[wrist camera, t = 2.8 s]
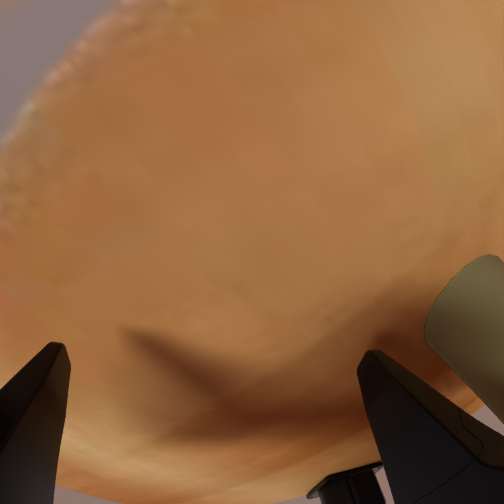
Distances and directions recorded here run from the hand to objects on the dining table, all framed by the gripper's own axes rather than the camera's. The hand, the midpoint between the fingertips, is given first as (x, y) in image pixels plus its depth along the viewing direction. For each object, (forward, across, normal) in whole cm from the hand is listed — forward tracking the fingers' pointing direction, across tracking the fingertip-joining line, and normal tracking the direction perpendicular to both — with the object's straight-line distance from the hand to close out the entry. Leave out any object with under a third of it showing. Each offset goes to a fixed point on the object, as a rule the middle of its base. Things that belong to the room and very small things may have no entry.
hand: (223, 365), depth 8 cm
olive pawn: (+3, -13, 0) cm, 13 cm away
